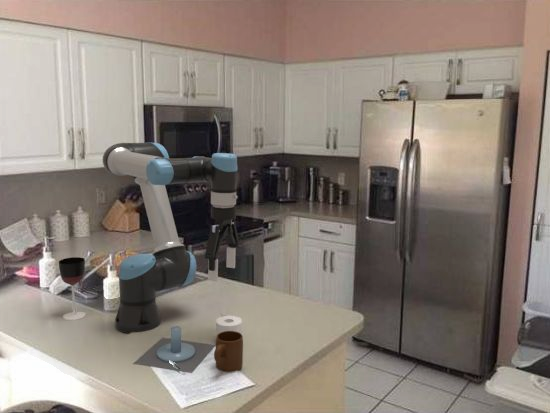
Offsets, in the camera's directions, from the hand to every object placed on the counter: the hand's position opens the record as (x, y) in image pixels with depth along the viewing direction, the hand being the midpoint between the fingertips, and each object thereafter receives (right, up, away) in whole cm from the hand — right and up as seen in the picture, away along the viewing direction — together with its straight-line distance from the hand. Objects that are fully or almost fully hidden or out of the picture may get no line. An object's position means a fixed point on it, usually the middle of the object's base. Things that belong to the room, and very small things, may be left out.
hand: (222, 273), depth 153 cm
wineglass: (-54, -18, +23) cm, 62 cm away
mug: (+2, -26, -13) cm, 29 cm away
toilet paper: (+2, -22, +8) cm, 23 cm away
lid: (-13, -23, -5) cm, 27 cm away
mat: (-13, -24, -5) cm, 27 cm away
